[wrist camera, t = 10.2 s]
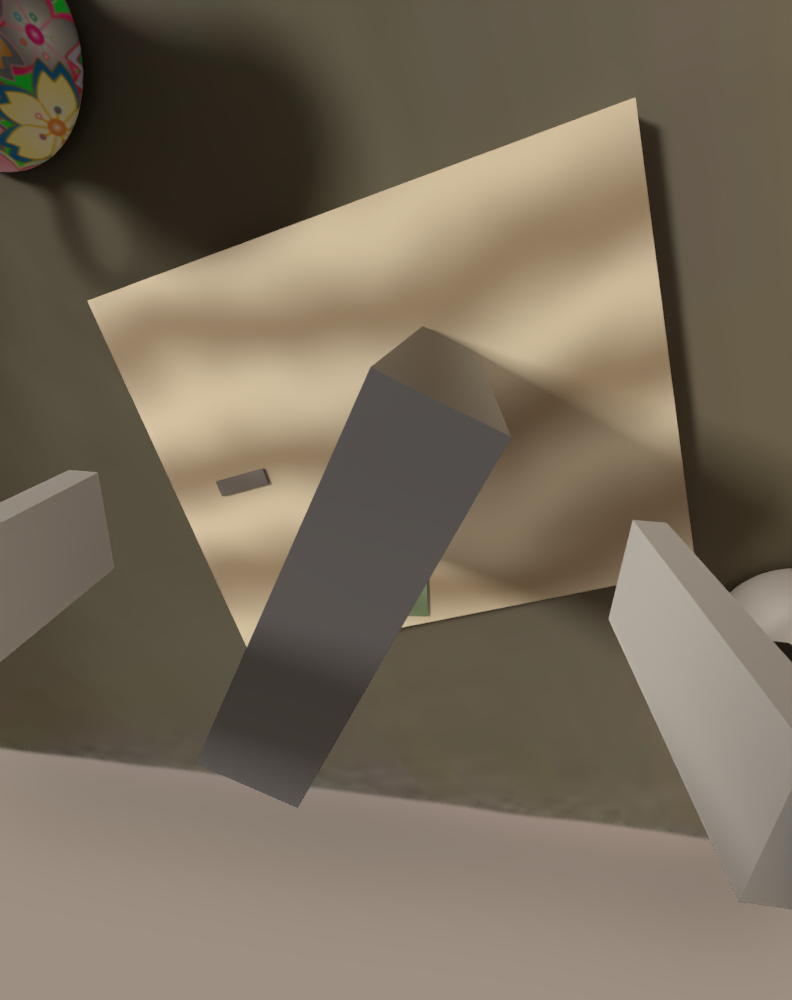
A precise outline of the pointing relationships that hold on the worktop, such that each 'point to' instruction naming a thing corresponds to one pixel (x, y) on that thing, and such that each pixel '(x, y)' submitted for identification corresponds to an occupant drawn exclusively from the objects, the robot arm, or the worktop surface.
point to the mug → (37, 81)
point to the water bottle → (769, 602)
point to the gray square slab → (358, 561)
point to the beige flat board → (453, 314)
